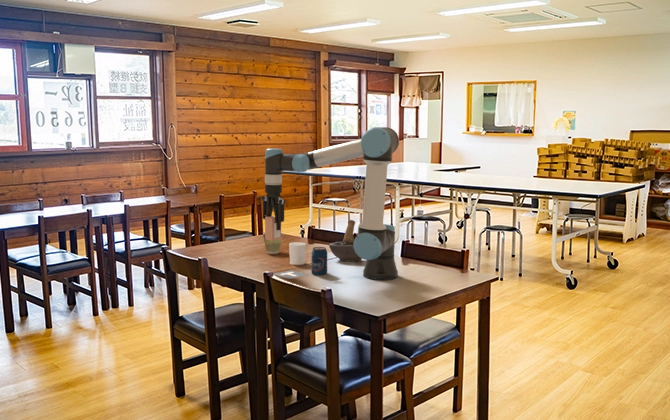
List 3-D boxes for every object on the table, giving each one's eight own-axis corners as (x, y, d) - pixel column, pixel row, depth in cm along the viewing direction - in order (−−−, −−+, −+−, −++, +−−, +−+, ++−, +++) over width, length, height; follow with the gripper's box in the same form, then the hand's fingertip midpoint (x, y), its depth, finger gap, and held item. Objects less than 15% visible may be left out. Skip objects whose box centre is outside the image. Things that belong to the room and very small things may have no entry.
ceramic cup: (274, 255, 315) (274, 235, 314) (259, 253, 321) (259, 233, 319) (289, 251, 326) (289, 232, 325) (274, 248, 332) (274, 230, 330)
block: (280, 239, 277) (281, 217, 276) (272, 240, 274) (272, 218, 272) (273, 237, 281) (274, 215, 279) (265, 239, 277) (265, 216, 276)
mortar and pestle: (372, 261, 305) (373, 220, 302) (346, 265, 294) (347, 223, 291) (352, 255, 316) (353, 216, 313) (327, 260, 305) (327, 219, 303)
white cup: (303, 266, 291) (303, 245, 289) (287, 265, 292) (287, 244, 291) (307, 263, 298) (307, 242, 297) (291, 262, 300) (291, 241, 298)
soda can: (310, 276, 272) (310, 249, 271) (312, 272, 279) (312, 246, 277) (325, 277, 271) (326, 250, 270) (328, 273, 278) (328, 246, 277)
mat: (309, 276, 273) (309, 274, 272) (289, 280, 265) (289, 279, 265) (291, 271, 281) (291, 270, 281) (272, 275, 274) (272, 273, 274)
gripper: (293, 185, 270) (292, 238, 273) (267, 181, 283) (267, 232, 286) (279, 186, 265) (279, 240, 268) (254, 182, 278) (253, 234, 281)
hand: (273, 236), depth 277 cm, fingers closed on block, 5 cm apart
